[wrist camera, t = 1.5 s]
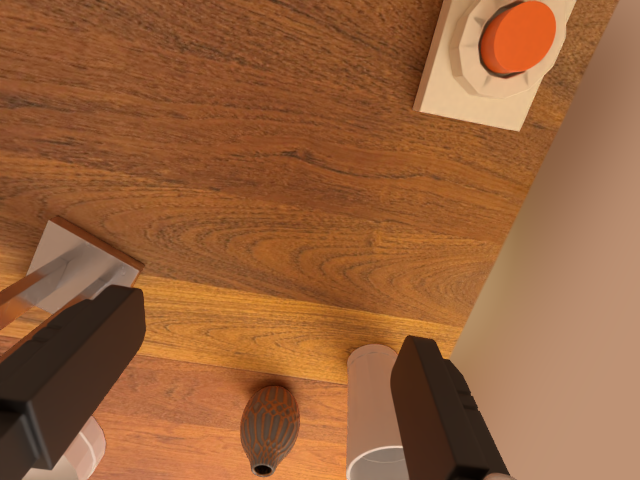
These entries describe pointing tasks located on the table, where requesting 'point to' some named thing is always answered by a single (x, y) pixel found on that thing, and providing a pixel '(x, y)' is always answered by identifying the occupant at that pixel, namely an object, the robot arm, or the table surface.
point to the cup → (373, 417)
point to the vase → (269, 428)
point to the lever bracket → (65, 275)
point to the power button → (518, 38)
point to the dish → (76, 456)
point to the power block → (481, 66)
